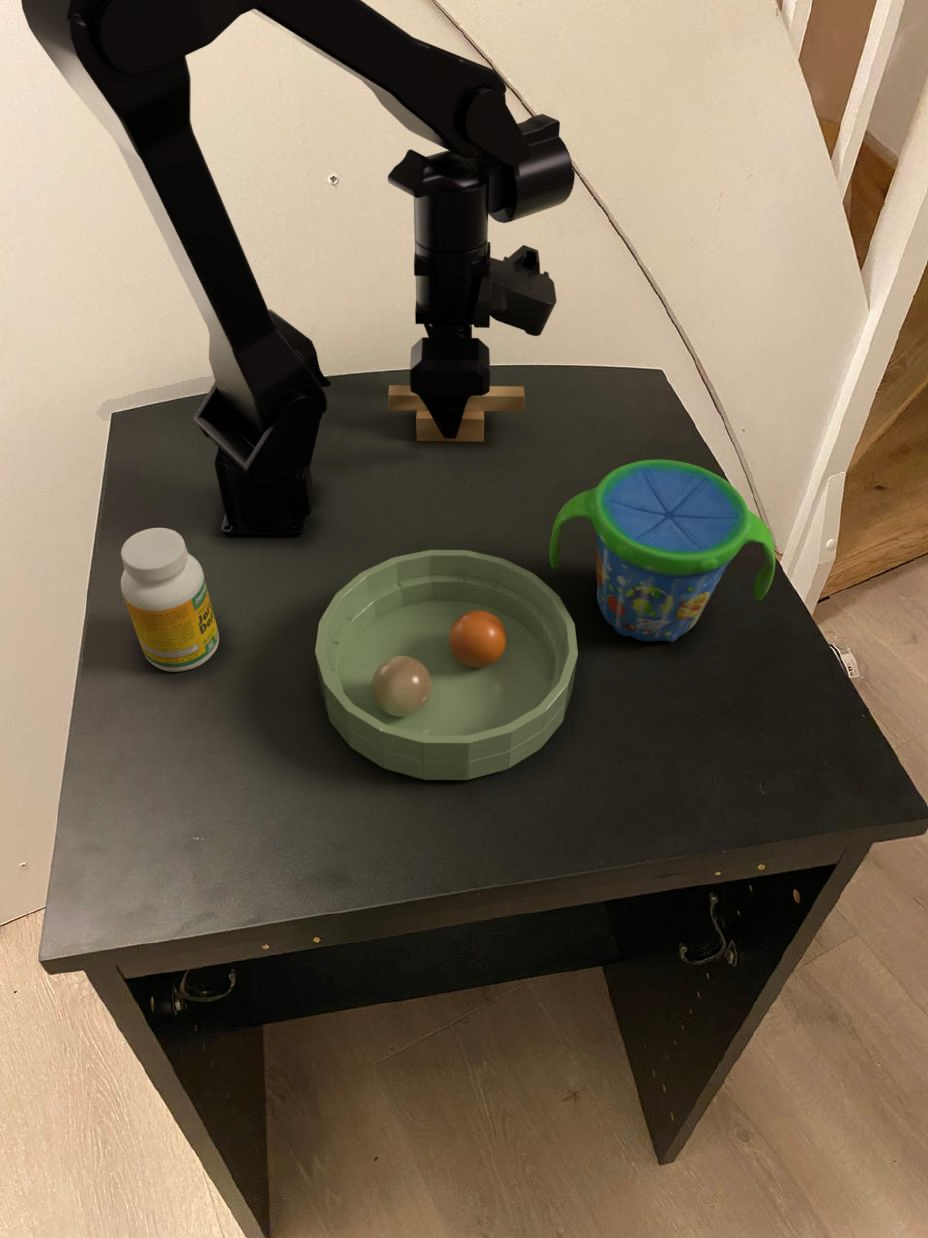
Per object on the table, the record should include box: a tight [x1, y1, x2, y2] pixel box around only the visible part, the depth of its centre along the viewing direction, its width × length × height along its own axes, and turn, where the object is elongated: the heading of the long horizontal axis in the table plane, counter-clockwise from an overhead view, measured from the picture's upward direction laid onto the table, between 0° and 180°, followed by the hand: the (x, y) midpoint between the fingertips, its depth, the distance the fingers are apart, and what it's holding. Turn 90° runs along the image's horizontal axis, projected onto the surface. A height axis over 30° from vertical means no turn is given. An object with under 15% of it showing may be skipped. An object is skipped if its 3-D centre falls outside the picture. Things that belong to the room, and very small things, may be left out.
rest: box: [415, 410, 485, 443], centre depth 85 cm, size 6×4×2 cm, turn 90°
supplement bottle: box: [120, 527, 220, 673], centre depth 64 cm, size 5×5×10 cm
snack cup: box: [548, 459, 776, 643], centre depth 67 cm, size 16×10×10 cm
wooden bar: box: [388, 384, 526, 412], centre depth 84 cm, size 12×2×2 cm, turn 90°
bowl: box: [314, 549, 579, 781], centre depth 64 cm, size 17×17×4 cm
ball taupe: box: [371, 656, 432, 717], centre depth 62 cm, size 4×4×4 cm
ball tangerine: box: [449, 610, 507, 668], centre depth 65 cm, size 4×4×4 cm
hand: (450, 407), depth 85 cm, fingers open, 9 cm apart
